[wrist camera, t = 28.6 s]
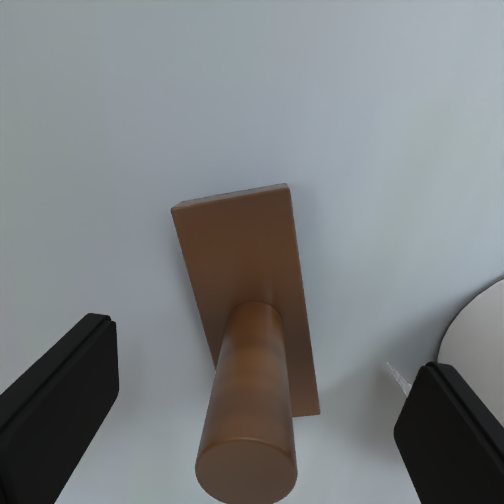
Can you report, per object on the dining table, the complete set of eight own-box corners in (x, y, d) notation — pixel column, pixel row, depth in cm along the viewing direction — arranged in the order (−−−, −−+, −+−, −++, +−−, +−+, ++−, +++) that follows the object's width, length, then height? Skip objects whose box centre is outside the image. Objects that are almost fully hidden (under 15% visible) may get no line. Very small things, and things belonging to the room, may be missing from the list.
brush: (189, 195, 14) (62, 277, 5) (284, 178, 13) (318, 235, 5) (235, 378, 17) (207, 603, 9) (311, 370, 17) (358, 598, 8)
